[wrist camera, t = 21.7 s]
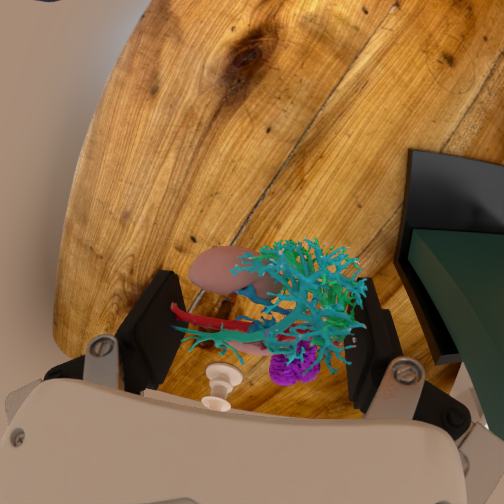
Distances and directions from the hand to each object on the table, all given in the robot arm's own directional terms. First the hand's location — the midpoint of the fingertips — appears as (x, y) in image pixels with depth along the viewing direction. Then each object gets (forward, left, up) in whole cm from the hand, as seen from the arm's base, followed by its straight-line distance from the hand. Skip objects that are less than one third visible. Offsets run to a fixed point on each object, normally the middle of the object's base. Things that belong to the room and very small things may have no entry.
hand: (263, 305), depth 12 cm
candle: (+25, -8, -15) cm, 31 cm away
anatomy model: (0, 0, -1) cm, 1 cm away
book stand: (+1, +19, -15) cm, 24 cm away
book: (+2, +19, -4) cm, 19 cm away
